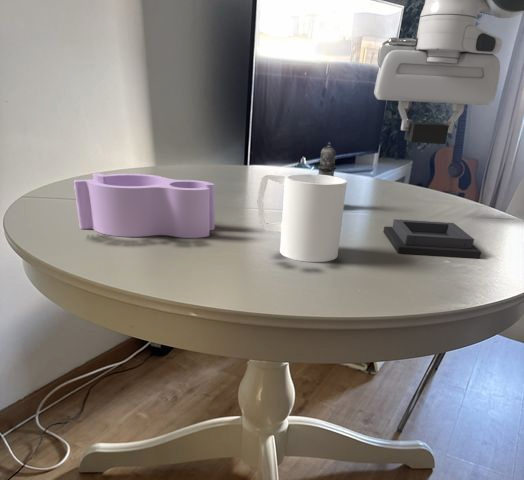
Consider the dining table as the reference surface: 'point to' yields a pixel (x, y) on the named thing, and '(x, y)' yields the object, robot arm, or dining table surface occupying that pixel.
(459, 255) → the base pad
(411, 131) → the black pad
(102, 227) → the purple hollow rounded tray
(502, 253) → the dining table surface
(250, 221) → the dining table surface
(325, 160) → the salt shaker
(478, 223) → the dining table surface
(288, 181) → the cup
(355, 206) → the dining table surface
